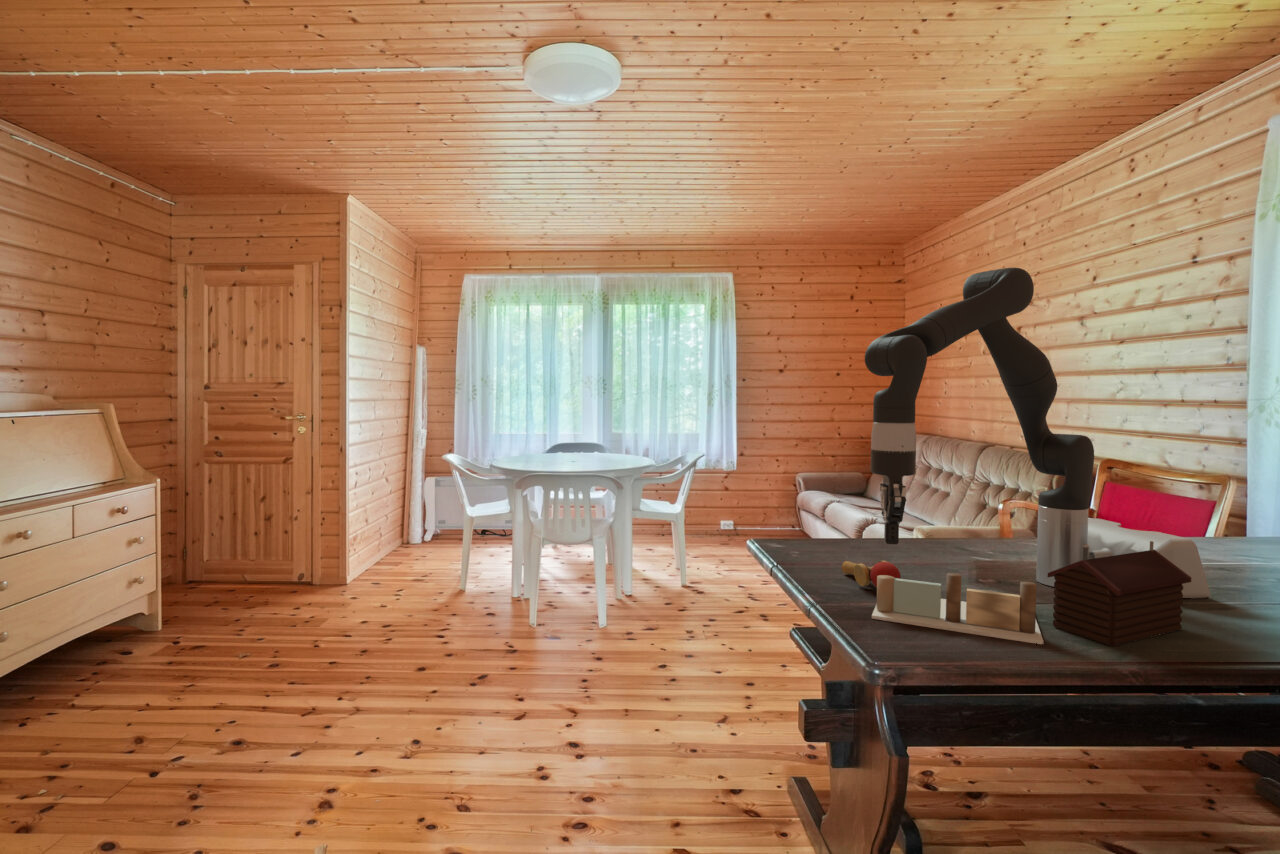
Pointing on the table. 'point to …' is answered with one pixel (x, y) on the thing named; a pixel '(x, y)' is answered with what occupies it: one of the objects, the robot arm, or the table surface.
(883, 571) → the kendama
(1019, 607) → the fence fixed
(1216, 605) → the table surface
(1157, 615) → the model building
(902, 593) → the panel
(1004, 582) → the table surface
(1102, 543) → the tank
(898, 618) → the board
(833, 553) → the table surface
